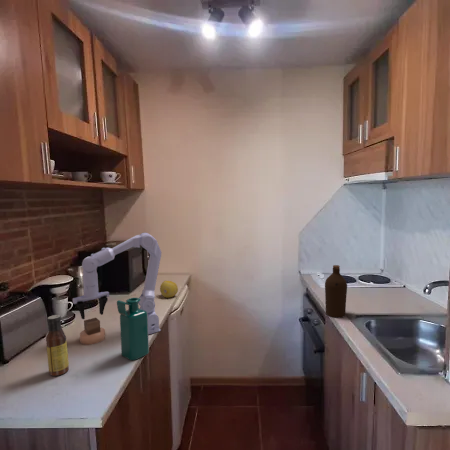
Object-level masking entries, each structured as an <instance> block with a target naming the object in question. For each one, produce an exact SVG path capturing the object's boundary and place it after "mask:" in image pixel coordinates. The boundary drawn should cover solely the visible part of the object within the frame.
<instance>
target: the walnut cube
mask: <svg viewBox="0 0 450 450" xmlns="http://www.w3.org/2000/svg"><path fill="white" fill-rule="evenodd" d="M83 326H84V327H83V329H84V332H85V333H86V334H87V335H92V334H95V333H99V332H100V328H101V320H100V319H98V318H97V317H92V318H88V319H83Z"/></svg>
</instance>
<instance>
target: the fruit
mask: <svg viewBox="0 0 450 450" xmlns="http://www.w3.org/2000/svg"><path fill="white" fill-rule="evenodd" d="M178 291H179V287H178V284H177V283H176V282H175V281H172V280H163V282H161V284H160V287H159V292H160V294H161V295H162V296H163V297H164V298H166V299H169V298H172V297H174V296H176V295H177V293H178Z"/></svg>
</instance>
